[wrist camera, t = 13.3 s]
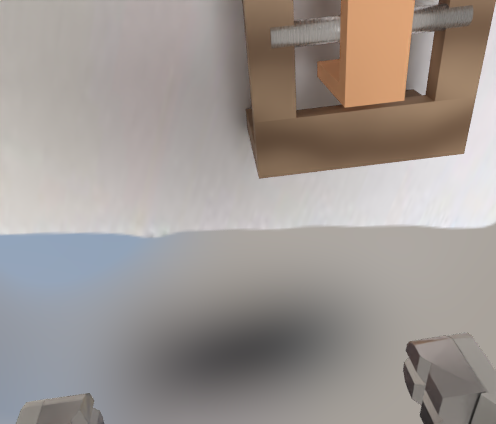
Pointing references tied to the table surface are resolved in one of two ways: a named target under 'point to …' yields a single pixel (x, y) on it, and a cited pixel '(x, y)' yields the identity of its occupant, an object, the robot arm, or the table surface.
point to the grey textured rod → (329, 27)
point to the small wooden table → (359, 117)
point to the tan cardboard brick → (370, 52)
